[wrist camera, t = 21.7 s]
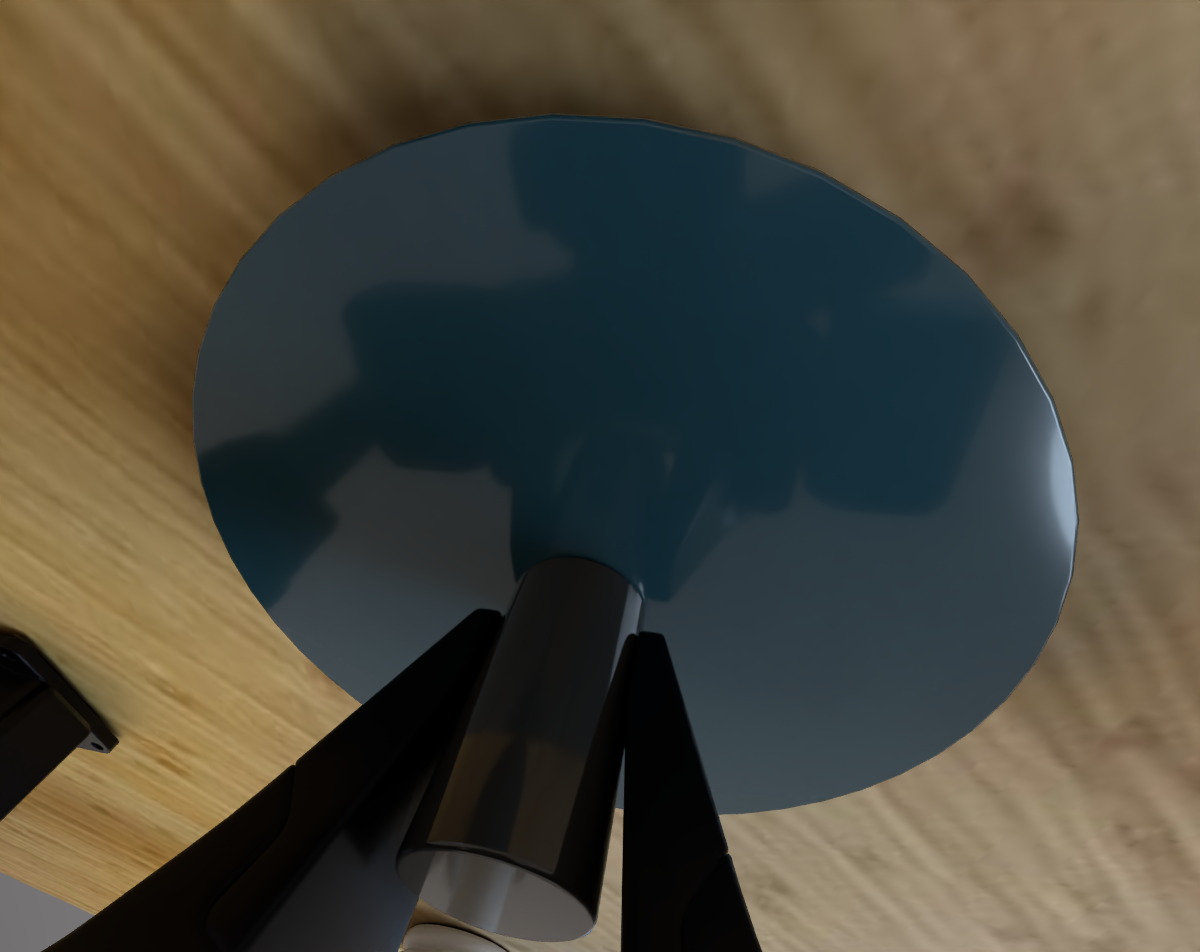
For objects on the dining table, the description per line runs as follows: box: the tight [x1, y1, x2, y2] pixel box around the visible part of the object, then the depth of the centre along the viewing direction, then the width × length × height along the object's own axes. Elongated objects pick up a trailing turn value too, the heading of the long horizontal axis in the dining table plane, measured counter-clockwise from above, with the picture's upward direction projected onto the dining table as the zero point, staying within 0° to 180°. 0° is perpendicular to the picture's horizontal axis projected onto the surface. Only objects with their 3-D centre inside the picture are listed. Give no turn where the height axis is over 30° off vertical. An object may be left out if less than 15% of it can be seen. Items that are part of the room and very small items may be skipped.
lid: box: [192, 113, 1079, 942], centre depth 8 cm, size 15×15×6 cm
